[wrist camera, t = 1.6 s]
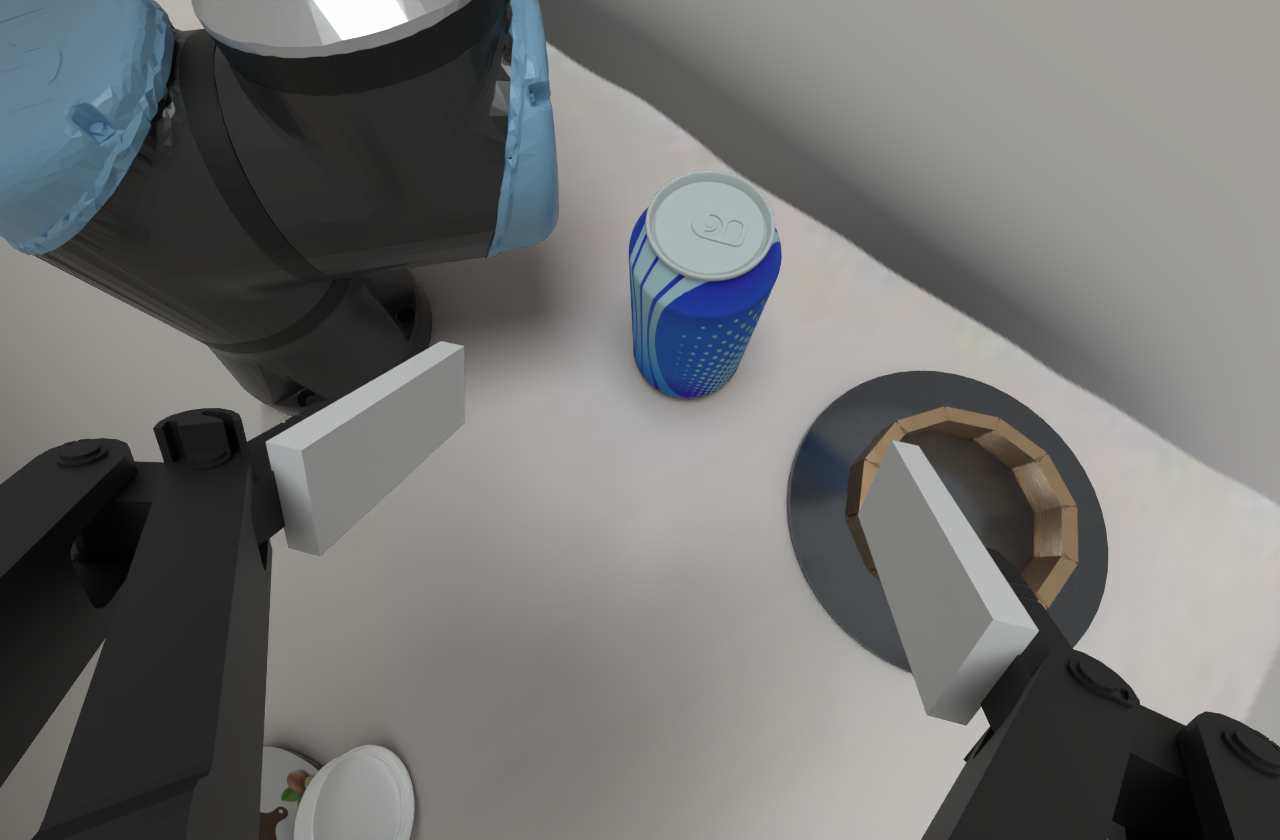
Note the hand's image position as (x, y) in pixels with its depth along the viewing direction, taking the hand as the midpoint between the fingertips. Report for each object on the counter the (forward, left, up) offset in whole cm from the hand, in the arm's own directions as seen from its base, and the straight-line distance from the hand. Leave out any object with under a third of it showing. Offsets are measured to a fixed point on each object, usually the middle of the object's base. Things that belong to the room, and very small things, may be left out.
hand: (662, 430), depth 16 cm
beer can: (-7, +11, -23) cm, 26 cm away
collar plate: (+15, +14, -23) cm, 31 cm away
